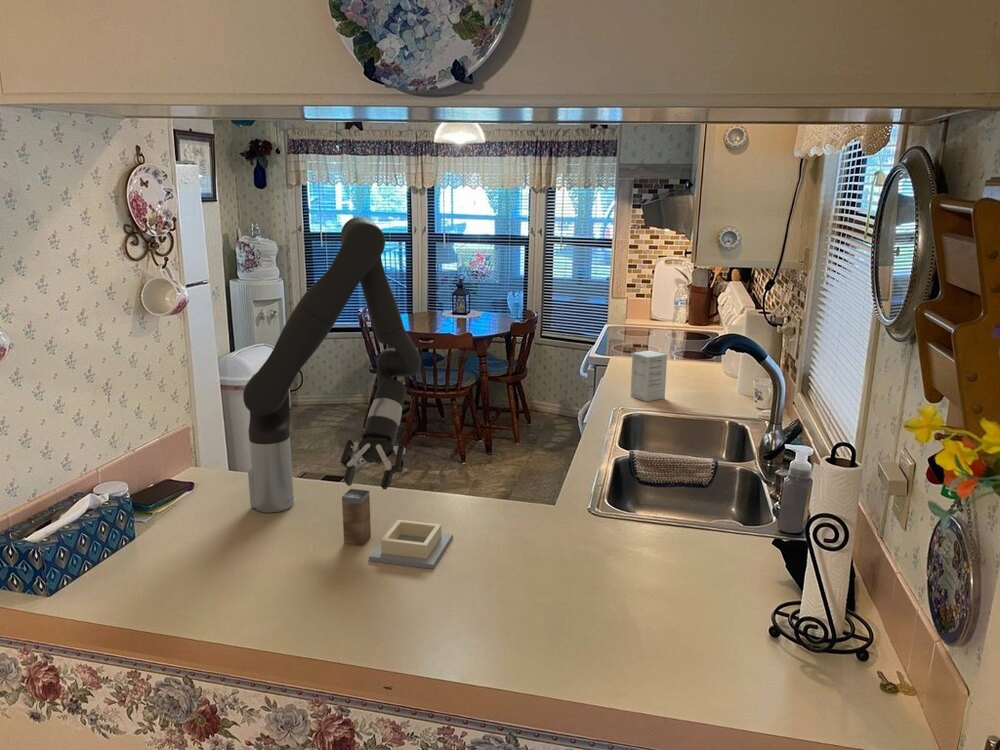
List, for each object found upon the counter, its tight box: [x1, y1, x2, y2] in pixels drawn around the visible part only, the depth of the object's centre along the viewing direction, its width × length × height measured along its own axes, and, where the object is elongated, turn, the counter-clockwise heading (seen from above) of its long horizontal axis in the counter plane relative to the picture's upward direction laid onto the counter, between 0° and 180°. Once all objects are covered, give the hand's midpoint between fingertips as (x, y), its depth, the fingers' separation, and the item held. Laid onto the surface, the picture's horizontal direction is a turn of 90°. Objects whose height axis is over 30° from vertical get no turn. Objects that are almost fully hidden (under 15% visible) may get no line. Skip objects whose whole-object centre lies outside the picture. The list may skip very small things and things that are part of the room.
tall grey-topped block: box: [341, 488, 372, 547], centre depth 159 cm, size 4×4×11 cm
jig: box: [368, 519, 454, 570], centre depth 156 cm, size 14×14×4 cm
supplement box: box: [630, 350, 668, 402], centre depth 271 cm, size 10×9×17 cm
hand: (365, 486), depth 163 cm, fingers open, 8 cm apart
